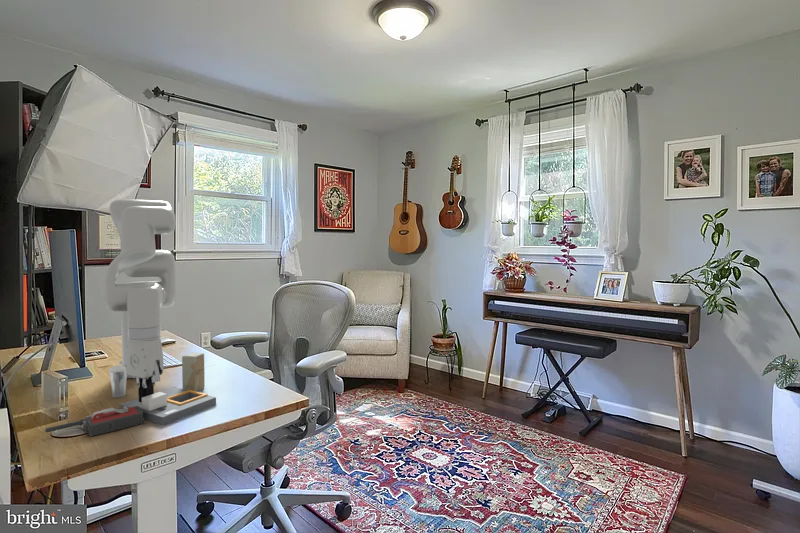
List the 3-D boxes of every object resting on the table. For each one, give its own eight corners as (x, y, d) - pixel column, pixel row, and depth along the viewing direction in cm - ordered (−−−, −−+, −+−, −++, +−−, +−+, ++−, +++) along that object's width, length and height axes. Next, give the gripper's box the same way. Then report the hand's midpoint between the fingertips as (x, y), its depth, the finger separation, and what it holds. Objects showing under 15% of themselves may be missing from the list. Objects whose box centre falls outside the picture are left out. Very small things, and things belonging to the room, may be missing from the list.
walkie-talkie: (140, 412, 118) (44, 434, 105) (140, 396, 118) (44, 416, 104) (149, 422, 112) (48, 448, 98) (149, 405, 112) (48, 428, 98)
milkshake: (134, 394, 132) (132, 361, 131) (114, 400, 128) (113, 366, 127) (126, 391, 135) (125, 359, 134) (107, 396, 130) (105, 363, 130)
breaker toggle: (142, 408, 116) (141, 397, 115) (160, 402, 120) (159, 391, 120) (149, 411, 114) (148, 399, 114) (167, 404, 119) (166, 393, 118)
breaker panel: (120, 411, 119) (120, 402, 119) (174, 393, 133) (174, 385, 133) (162, 425, 111) (162, 415, 111) (216, 404, 125) (215, 395, 125)
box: (194, 393, 134) (193, 356, 133) (181, 392, 135) (181, 356, 134) (205, 387, 139) (204, 352, 138) (193, 386, 140) (192, 351, 139)
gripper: (113, 332, 118) (115, 400, 119) (148, 338, 111) (150, 411, 112) (141, 327, 124) (143, 392, 125) (175, 333, 117) (177, 401, 118)
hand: (146, 400), depth 118 cm, fingers closed
